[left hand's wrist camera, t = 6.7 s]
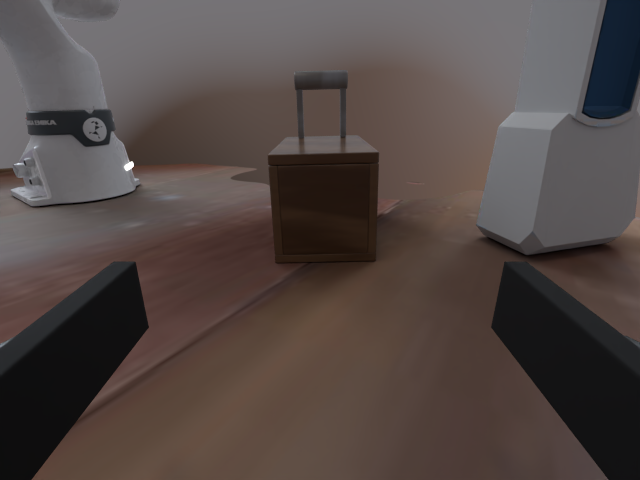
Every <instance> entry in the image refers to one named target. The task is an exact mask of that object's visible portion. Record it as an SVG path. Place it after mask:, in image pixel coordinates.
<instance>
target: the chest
mask: <svg viewBox="0 0 640 480" xmlns="http://www.w3.org/2000/svg"><path fill="white" fill-rule="evenodd" d="M378 172H379V164H378V163H349V164H308V165H269V180H270V194H271V207H272V220H273V234H274V247H275V261H276V263H289V262H335V261H375V260H376V231H377V202H378Z"/></svg>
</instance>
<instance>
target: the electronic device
mask: <svg viewBox="0 0 640 480" xmlns="http://www.w3.org/2000/svg"><path fill="white" fill-rule="evenodd" d="M639 99H640V0H533V1H532V7H531V13H530V20H529V26H528V32H527V38H526V44H525V50H524V57H523V63H522V69H521V75H520V81H519V88H518V94H517V100H516V106H515V112H513V113H512V114H511V115H510V116H509V117H508V118H507V119H506V120H505V121H504V122H503V123H502V124H501V125H500V126H499V127H498V132H497V136H496V141H495V145H494V149H493V154H492V158H491V163H490V167H489V171H488V175H487V180H486V184H485V189H484V193H483V197H482V202H481V206H480V210H479V215H478V219H477V224H476V225H477V227H478V228H479V229H480V231H481V232H482V233H483V235H485V236H487V237H489V238H491V239H494V240H496V241H498V242H500V243H502V244H504V245H506V246H508V247H510V248H513V249H515V250H517V251H519V252H521V253H523V254H525V255H531V254H538V253H544V252H551V251H557V250H564V249H570V248H577V247H583V246H590V245H596V244H603V243H609V242H610V241H612V240H614V239H616V238H617V237H619V236H620V235H621V234H622V233H623V232H624V230H625V229H626V228H627V227H628V225H629V224H630V223H631V222H632V220H633V219H634V218H635V212H636V202H637V192H638V183H639V173H640V116H639V114H638V112H637V111H636V110H637V106H638V103H639Z"/></svg>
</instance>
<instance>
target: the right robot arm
mask: <svg viewBox="0 0 640 480" xmlns="http://www.w3.org/2000/svg"><path fill="white" fill-rule="evenodd" d="M119 4H120V0H0V42H1V43H2V44H3V46H4V48H5V49H6V51H7V53H8V55H9V57H10V59H11V61H12V64H13V66H14V69H15V71H16V74H17V77H18V80H19V82H20V85H21V88H22V91H23V94H24V97H25V101H26V104H27V107H28V110H29V111H28V112H27V113H26V116H27V117H26V119H27V120H26V124H27V126H28V134H30V135H31V138H30V142H29V144H28V145H27V147H26V149H25V151H24V153H23V155H22V157H21V159H20V161H19V163H18V164H14V165H13V169H14V172H15V174H16V176H17V177H19V178H21V177H23V179H24V183H25V186H22V187H18V188H15V189H12V190H11V194H12V195H13V196H14V197H16V198H18V199H20V200H21V201H23V202H25V203H27V204H28V205H30V206H42V205H50V204H60V203H75V202H85V201H93V200H99V199H105V198H110V197H115V196H119V195H123V194H126V193H129V192H131V191H133V190H135V189H136V186H137V185H139V184H140V181H139V179H135V178H134V176H133V173H132V170H131V168H132V167H133V162H130V163H129V160H128V157H127V153H126V150H125V147H124V144H123V143H122V142H121V141H120V140H118V139H117V137H116V136H115V134H114V132H113V131H115V125H114V118H113V116H112V113H111V110H90V109H108V107H107V102H106V98H105V93H104V89H103V85H102V80H101V76H100V71H99V67H98V64H97V62H96V60H95V59H94V57H93V56H92V55H91V54H90V53H89V52H88V51H87V50H86V49H84V48H83V47H82V46H80V45H79V44H78V43H76V42H75V41H74V40H73V39H72V38H71V37H70V36H69V34H68V33H67V32H66V30H65V29H64V28H63V26H62V25H61V23H60V21H59V20H58V18H57V17H60V18H65V19H70V20H75V21H80V22H96V21H107V20H109V19H111V18H112V17H113V16H114V15H115V14H116V12H117V10H118V8H119ZM47 110H66V111H47Z"/></svg>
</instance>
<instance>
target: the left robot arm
mask: <svg viewBox="0 0 640 480" xmlns="http://www.w3.org/2000/svg"><path fill="white" fill-rule="evenodd" d="M148 328H149V326H148V321H147V316H146V311H145V307H144V302H143V297H142V292H141V287H140V282H139V277H138V272H137V267H136V262H113V263H111V264H110V265H109V266H107V267H106V268H105V269H104V270H102V271H101V272H100V273H98V274H97V275H96V276H94V277H93V278H92V279H90V280H89V281H88V282H86V283H85V284H84V285H82V286H81V287H80V288H79V289H77V290H76V291H75V292H73V293H72V294H71V295H69V296H68V297H67V298H65V299H64V300H63V301H61V302H60V303H59V304H57V305H56V306H55V307H53V308H52V309H51V310H50V311H48V312H47V313H46V314H44V315H43V316H42V317H40V318H39V319H38V320H36V321H35V322H34V323H32V324H31V325H30V326H28V327H27V328H26V329H24V330H23V331H22V332H21V333H19V334H18V335H17V336H15V337H13V338H11V339H9V340H7V341H5V342H3V343H1V344H0V480H31V479H32V478H33V477H34V476H35V474H36V473H37V472H38V470H39V469H40V468H41V466H42V465H43V464H44V463H45V461H46V460H47V459H48V457H49V456H50V455H51V453H52V452H53V451H54V450H55V448H56V447H57V446H58V444H59V443H60V442H61V441H62V439H63V438H64V437H65V435H66V434H67V433H68V431H69V430H70V429H71V428H72V426H73V425H74V424H75V422H76V421H77V420H78V418H79V417H80V416H81V415H82V413H83V412H84V411H85V409H86V408H87V407H88V406H89V404H90V403H91V402H92V400H93V399H94V398H95V396H96V395H97V394H98V393H99V391H100V390H101V389H102V387H103V386H104V385H105V383H106V382H107V381H108V380H109V378H110V377H111V376H112V374H113V373H114V372H115V370H116V369H117V368H118V367H119V365H120V364H121V363H122V361H123V360H124V359H125V358H126V356H127V355H128V354H129V352H130V351H131V350H132V348H133V347H134V346H135V345H136V343H137V342H138V341H139V339H140V338H141V337H142V335H143V334H144V333H145V332H146V330H147V329H148ZM491 328H492V329H493V330H494V332H495V333H496V334H497V335H498V337H499V338H500V339H501V341H502V342H503V343H504V345H505V346H506V347H507V348H508V350H509V351H510V352H511V354H512V355H513V356H514V358H515V359H516V360H517V361H518V363H519V364H520V365H521V367H522V368H523V369H524V370H525V372H526V373H527V374H528V376H529V377H530V378H531V380H532V381H533V382H534V383H535V385H536V386H537V387H538V389H539V390H540V391H541V393H542V394H543V395H544V396H545V398H546V399H547V400H548V402H549V403H550V404H551V406H552V407H553V408H554V409H555V411H556V412H557V413H558V415H559V416H560V417H561V418H562V420H563V421H564V422H565V424H566V425H567V426H568V428H569V429H570V430H571V431H572V433H573V434H574V435H575V437H576V438H577V439H578V441H579V442H580V443H581V444H582V446H583V447H584V448H585V450H586V451H587V452H588V453H589V455H590V456H591V457H592V459H593V460H594V461H595V463H596V464H597V465H598V466H599V468H600V469H601V470H602V472H603V473H604V474H605V476H606V477H607V478H608V479H609V480H640V342H638V341H636V340H634V339H632V338H630V337H628V336H623V335H622V334H621V333H619V332H618V331H617V330H616V329H614V328H613V327H612V326H610V325H609V324H608V323H606V322H605V321H604V320H602V319H601V318H600V317H598V316H597V315H596V314H594V313H593V312H592V311H590V310H589V309H588V308H587V307H585V306H584V305H583V304H581V303H580V302H579V301H577V300H576V299H575V298H573V297H572V296H571V295H569V294H568V293H567V292H565V291H564V290H563V289H561V288H560V287H559V286H558V285H556V284H555V283H554V282H552V281H551V280H550V279H548V278H547V277H546V276H544V275H543V274H542V273H540V272H539V271H538V270H536V269H535V268H534V267H533V266H531V265H530V264H529V263H527V262H504V267H503V272H502V277H501V282H500V287H499V292H498V297H497V302H496V307H495V311H494V316H493V321H492V326H491Z"/></svg>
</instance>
